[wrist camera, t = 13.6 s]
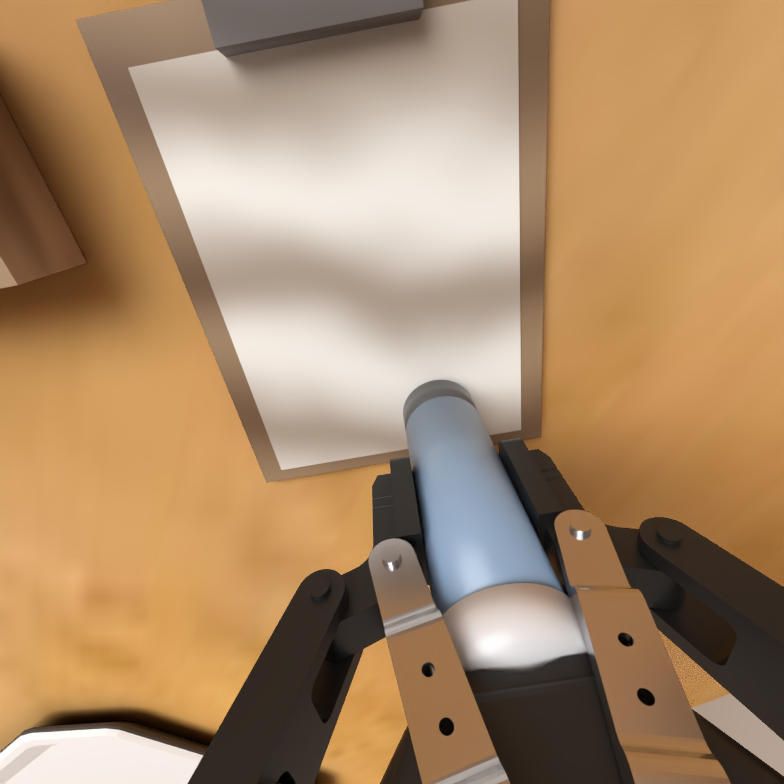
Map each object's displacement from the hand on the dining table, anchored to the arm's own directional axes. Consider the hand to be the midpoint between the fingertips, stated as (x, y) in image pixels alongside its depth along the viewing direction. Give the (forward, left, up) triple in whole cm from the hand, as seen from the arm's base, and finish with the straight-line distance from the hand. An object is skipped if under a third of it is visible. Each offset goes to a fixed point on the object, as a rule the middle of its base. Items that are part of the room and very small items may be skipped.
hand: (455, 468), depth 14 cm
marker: (0, 0, -4) cm, 4 cm away
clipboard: (-6, -2, -5) cm, 8 cm away
